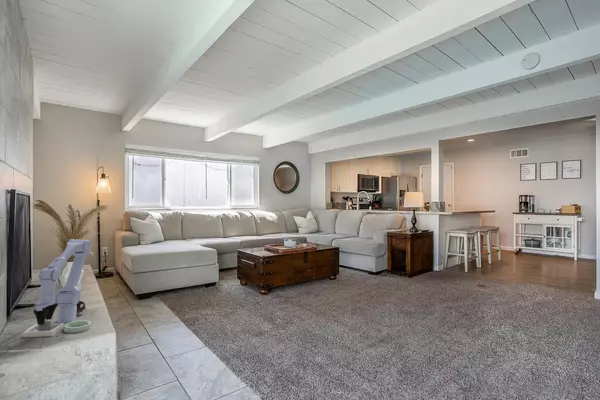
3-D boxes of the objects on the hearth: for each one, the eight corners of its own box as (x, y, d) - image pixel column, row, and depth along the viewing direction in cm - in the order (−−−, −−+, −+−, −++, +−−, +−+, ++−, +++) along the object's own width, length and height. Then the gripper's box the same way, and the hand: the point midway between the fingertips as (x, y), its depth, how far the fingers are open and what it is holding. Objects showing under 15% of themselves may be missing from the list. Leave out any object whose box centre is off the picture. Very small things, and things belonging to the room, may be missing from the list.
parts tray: (35, 329, 157) (36, 323, 157) (63, 328, 160) (64, 322, 160) (21, 338, 145) (22, 332, 145) (52, 337, 149) (53, 331, 149)
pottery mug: (88, 311, 190) (90, 301, 187) (78, 323, 181) (80, 312, 178) (67, 306, 188) (68, 295, 185) (56, 317, 179) (57, 307, 176)
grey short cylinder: (40, 330, 154) (41, 321, 155) (51, 329, 156) (52, 320, 156) (35, 333, 150) (36, 324, 150) (47, 333, 151) (48, 323, 151)
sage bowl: (69, 326, 163) (69, 320, 163) (93, 325, 166) (94, 320, 166) (59, 334, 152) (60, 328, 152) (85, 333, 155) (86, 327, 155)
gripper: (45, 289, 160) (42, 317, 159) (29, 297, 146) (26, 327, 145) (61, 289, 162) (59, 316, 161) (47, 296, 148) (44, 326, 147)
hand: (44, 321), depth 153 cm, fingers open, 7 cm apart
